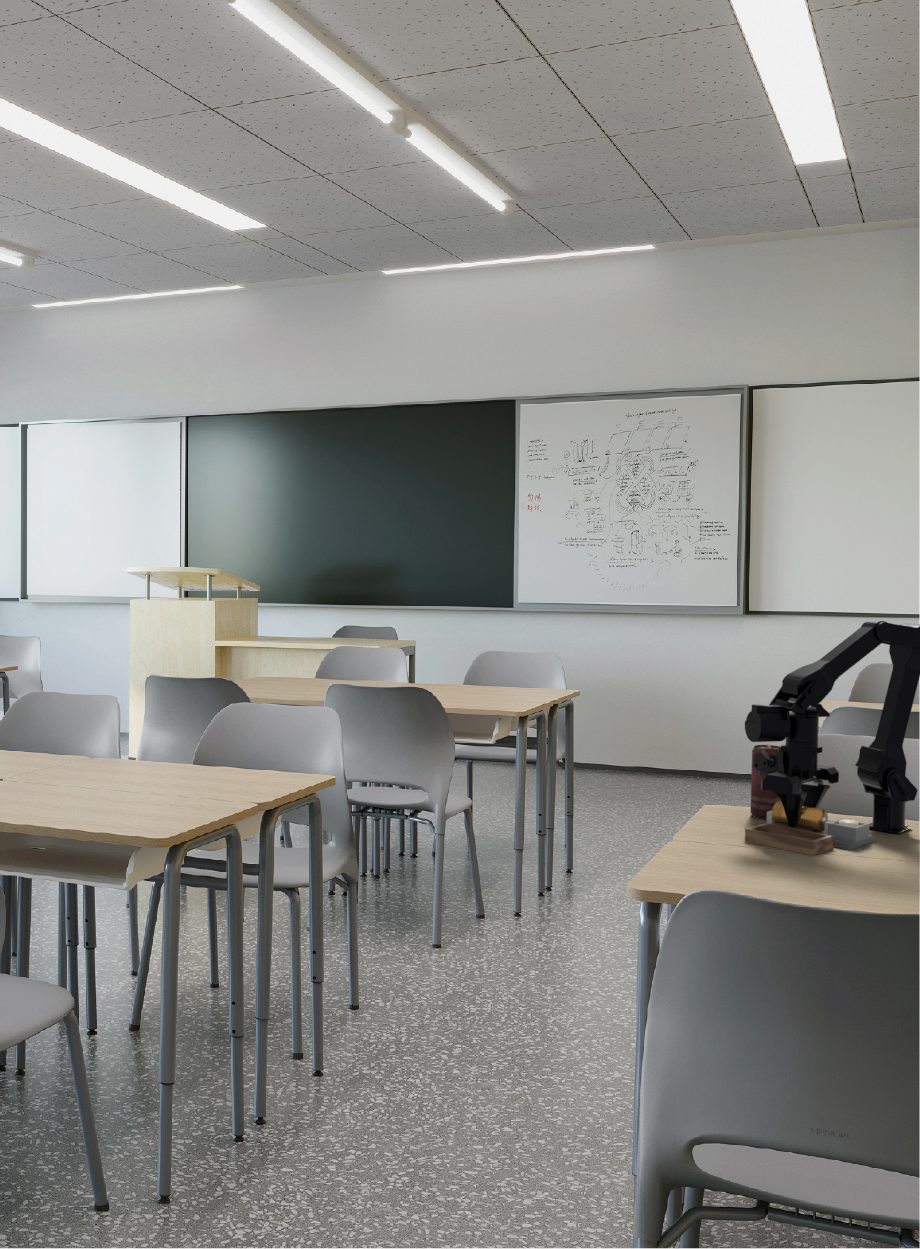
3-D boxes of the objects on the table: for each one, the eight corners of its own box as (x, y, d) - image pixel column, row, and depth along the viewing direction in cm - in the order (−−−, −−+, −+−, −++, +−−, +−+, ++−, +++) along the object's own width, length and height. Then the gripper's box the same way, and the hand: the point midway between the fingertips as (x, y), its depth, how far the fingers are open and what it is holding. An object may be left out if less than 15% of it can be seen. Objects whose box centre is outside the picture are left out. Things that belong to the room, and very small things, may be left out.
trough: (765, 834, 189) (766, 823, 189) (833, 848, 180) (833, 836, 180) (745, 841, 184) (745, 829, 184) (813, 855, 175) (813, 842, 175)
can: (778, 813, 208) (780, 744, 207) (785, 820, 202) (787, 749, 201) (747, 812, 209) (749, 743, 208) (753, 819, 202) (755, 748, 202)
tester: (781, 824, 198) (782, 806, 198) (873, 841, 185) (874, 822, 185) (757, 831, 192) (757, 812, 192) (850, 850, 179) (851, 830, 179)
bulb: (843, 828, 186) (844, 818, 186) (861, 832, 184) (861, 822, 184) (835, 831, 184) (835, 821, 184) (853, 834, 182) (853, 824, 182)
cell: (782, 821, 196) (783, 800, 195) (830, 830, 189) (831, 808, 188) (771, 824, 193) (772, 803, 193) (820, 833, 186) (820, 811, 186)
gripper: (786, 731, 203) (784, 810, 203) (736, 740, 190) (734, 824, 190) (841, 738, 195) (838, 820, 195) (792, 747, 182) (789, 835, 182)
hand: (799, 824), depth 191 cm, fingers open, 5 cm apart
